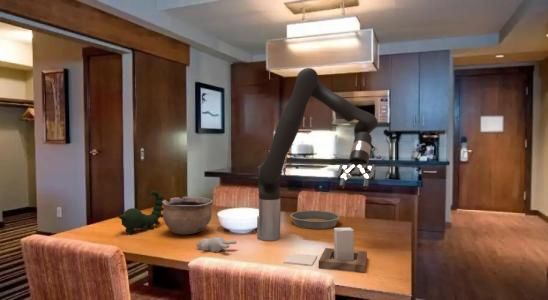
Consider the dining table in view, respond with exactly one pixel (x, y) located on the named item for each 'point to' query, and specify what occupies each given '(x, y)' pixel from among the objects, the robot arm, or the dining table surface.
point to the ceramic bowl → (187, 214)
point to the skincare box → (344, 244)
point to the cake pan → (303, 218)
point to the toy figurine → (143, 216)
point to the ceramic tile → (300, 259)
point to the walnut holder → (343, 261)
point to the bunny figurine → (214, 244)
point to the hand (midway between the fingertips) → (353, 188)
